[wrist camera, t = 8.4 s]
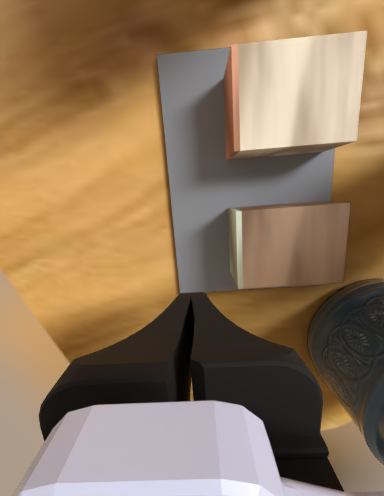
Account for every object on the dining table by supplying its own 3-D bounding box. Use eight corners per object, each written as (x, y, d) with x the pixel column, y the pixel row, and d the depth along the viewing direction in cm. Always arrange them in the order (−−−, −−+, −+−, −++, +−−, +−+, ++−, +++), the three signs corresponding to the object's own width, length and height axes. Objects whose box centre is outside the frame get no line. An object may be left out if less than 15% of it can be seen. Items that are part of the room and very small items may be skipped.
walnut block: (228, 207, 20) (319, 200, 19) (230, 271, 21) (315, 265, 21) (235, 211, 16) (350, 202, 15) (237, 289, 17) (343, 282, 17)
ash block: (223, 78, 17) (327, 68, 17) (226, 160, 19) (322, 152, 18) (231, 44, 13) (367, 30, 13) (234, 151, 15) (356, 140, 14)
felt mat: (339, 39, 17) (343, 35, 16) (322, 283, 21) (324, 284, 21) (157, 57, 17) (156, 54, 17) (180, 292, 22) (180, 293, 22)
